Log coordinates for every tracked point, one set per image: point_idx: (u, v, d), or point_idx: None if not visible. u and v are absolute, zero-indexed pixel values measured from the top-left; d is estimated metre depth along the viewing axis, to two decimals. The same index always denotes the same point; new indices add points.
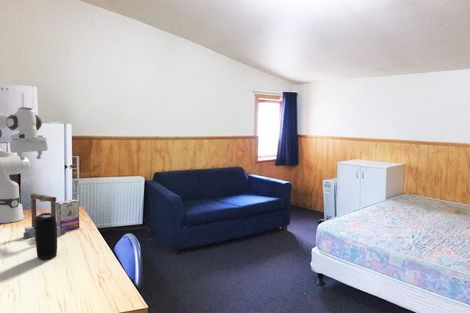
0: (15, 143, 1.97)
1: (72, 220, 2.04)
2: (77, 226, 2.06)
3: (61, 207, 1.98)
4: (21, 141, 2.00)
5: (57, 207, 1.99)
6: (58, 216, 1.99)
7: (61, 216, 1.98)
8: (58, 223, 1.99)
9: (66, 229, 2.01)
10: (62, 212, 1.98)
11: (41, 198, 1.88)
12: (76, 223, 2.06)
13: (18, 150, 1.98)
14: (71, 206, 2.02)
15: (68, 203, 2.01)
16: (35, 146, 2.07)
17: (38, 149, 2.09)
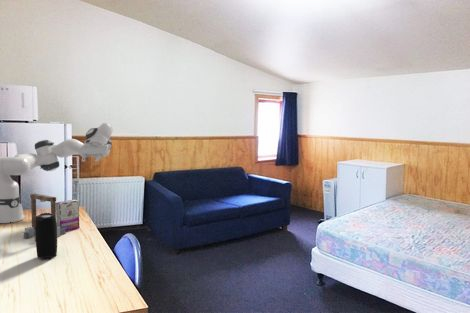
0: (81, 147, 2.29)
1: (72, 220, 2.04)
2: (77, 226, 2.06)
3: (61, 207, 1.98)
4: (87, 145, 2.29)
5: (57, 207, 1.99)
6: (58, 216, 1.99)
7: (60, 216, 1.98)
8: (58, 223, 1.99)
9: (66, 229, 2.01)
10: (62, 212, 1.98)
11: (41, 198, 1.88)
12: (76, 223, 2.06)
13: (81, 152, 2.27)
14: (71, 206, 2.02)
15: (68, 203, 2.01)
16: (95, 150, 2.25)
17: (97, 152, 2.23)
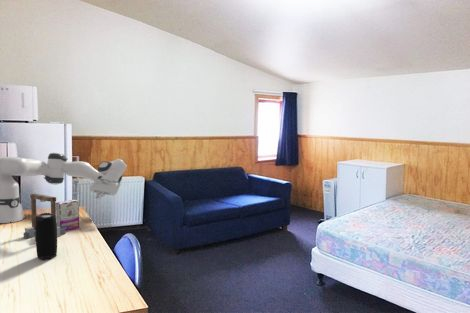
0: None
1: (72, 220, 2.04)
2: (77, 226, 2.06)
3: (61, 207, 1.98)
4: (98, 182, 2.28)
5: (57, 207, 1.99)
6: (58, 216, 1.99)
7: (61, 216, 1.98)
8: (58, 223, 1.99)
9: (66, 229, 2.01)
10: (62, 212, 1.98)
11: (41, 198, 1.88)
12: (76, 223, 2.06)
13: (92, 188, 2.27)
14: (71, 206, 2.02)
15: (68, 203, 2.01)
16: (105, 187, 2.23)
17: (105, 190, 2.21)
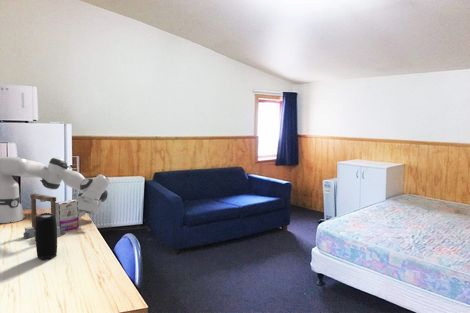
0: None
1: (72, 220, 2.03)
2: (76, 226, 2.06)
3: (60, 207, 1.97)
4: (79, 199, 2.15)
5: (56, 207, 1.98)
6: (58, 217, 1.98)
7: (60, 217, 1.98)
8: (57, 223, 1.99)
9: (65, 229, 2.00)
10: (61, 213, 1.98)
11: (41, 198, 1.88)
12: (75, 223, 2.05)
13: None
14: (70, 206, 2.02)
15: (67, 203, 2.00)
16: (85, 206, 2.10)
17: (85, 209, 2.08)
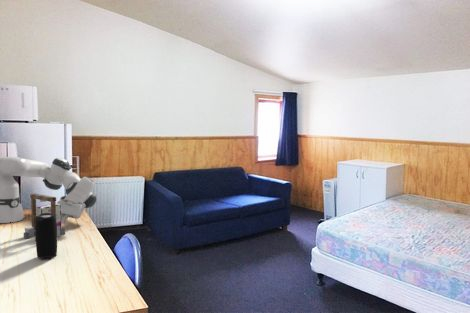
0: None
1: None
2: None
3: (43, 211, 1.87)
4: (62, 203, 2.06)
5: (38, 212, 1.88)
6: None
7: None
8: None
9: None
10: None
11: (41, 198, 1.88)
12: None
13: None
14: None
15: (50, 207, 1.91)
16: (68, 209, 2.00)
17: (68, 212, 1.99)
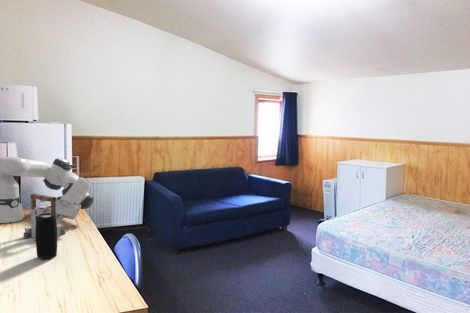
0: None
1: None
2: None
3: (37, 213, 1.85)
4: (57, 203, 2.04)
5: (32, 213, 1.85)
6: (34, 223, 1.85)
7: None
8: (34, 230, 1.86)
9: None
10: None
11: (41, 198, 1.88)
12: None
13: None
14: (47, 211, 1.90)
15: (44, 208, 1.88)
16: (63, 210, 1.98)
17: (63, 213, 1.97)
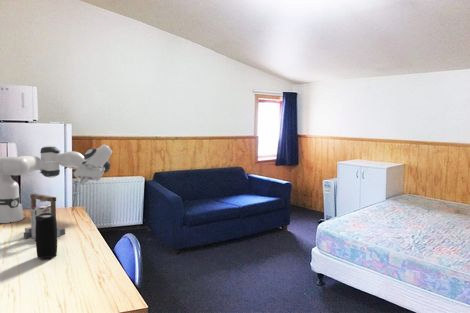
0: (77, 168, 2.23)
1: None
2: None
3: (37, 213, 1.85)
4: (82, 167, 2.23)
5: (32, 213, 1.85)
6: (34, 223, 1.85)
7: None
8: (34, 230, 1.86)
9: None
10: None
11: (41, 198, 1.88)
12: None
13: (76, 173, 2.21)
14: (47, 211, 1.90)
15: (44, 208, 1.88)
16: (89, 172, 2.17)
17: (89, 175, 2.16)
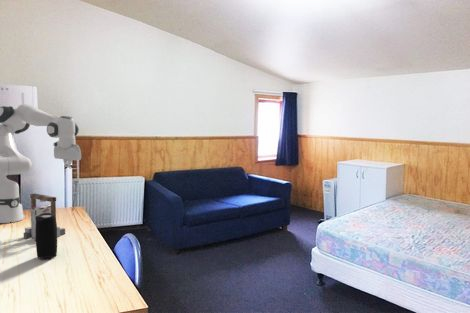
0: (54, 150, 2.16)
1: None
2: None
3: (37, 213, 1.85)
4: (58, 149, 2.14)
5: (32, 213, 1.85)
6: (34, 223, 1.85)
7: None
8: (34, 230, 1.86)
9: None
10: None
11: (41, 198, 1.88)
12: None
13: (56, 156, 2.16)
14: (47, 211, 1.90)
15: (44, 208, 1.88)
16: (67, 155, 2.11)
17: (69, 158, 2.10)
